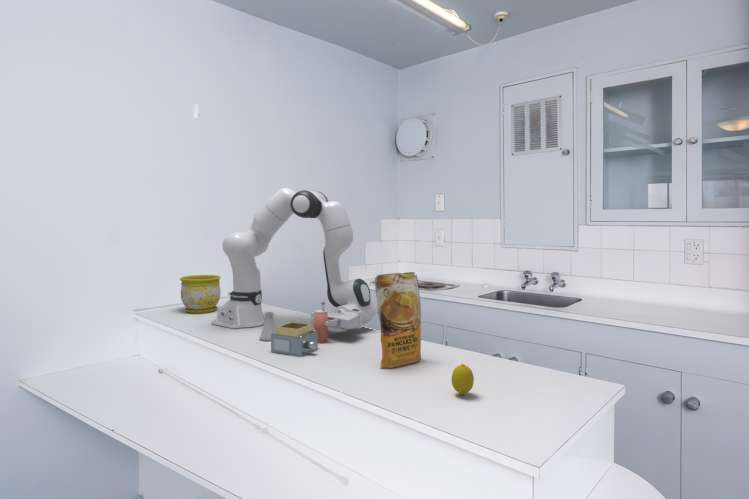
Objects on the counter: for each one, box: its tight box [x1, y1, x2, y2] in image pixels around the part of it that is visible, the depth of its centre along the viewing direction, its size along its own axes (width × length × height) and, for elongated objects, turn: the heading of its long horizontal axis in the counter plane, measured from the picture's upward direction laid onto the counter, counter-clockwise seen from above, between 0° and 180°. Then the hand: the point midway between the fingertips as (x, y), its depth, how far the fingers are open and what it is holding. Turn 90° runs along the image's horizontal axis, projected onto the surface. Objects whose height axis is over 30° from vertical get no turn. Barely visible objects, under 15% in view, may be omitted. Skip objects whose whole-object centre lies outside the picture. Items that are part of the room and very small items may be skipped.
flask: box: [258, 311, 276, 342], centre depth 173 cm, size 7×7×10 cm
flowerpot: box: [179, 274, 221, 315], centre depth 224 cm, size 18×18×16 cm
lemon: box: [451, 363, 475, 396], centre depth 119 cm, size 6×6×8 cm
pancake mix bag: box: [374, 271, 422, 369], centre depth 145 cm, size 7×19×28 cm, turn 127°
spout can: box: [313, 301, 329, 344], centre depth 170 cm, size 5×5×14 cm
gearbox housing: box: [270, 321, 319, 357], centre depth 158 cm, size 15×10×8 cm
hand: (319, 322), depth 169 cm, fingers closed on spout can, 5 cm apart
